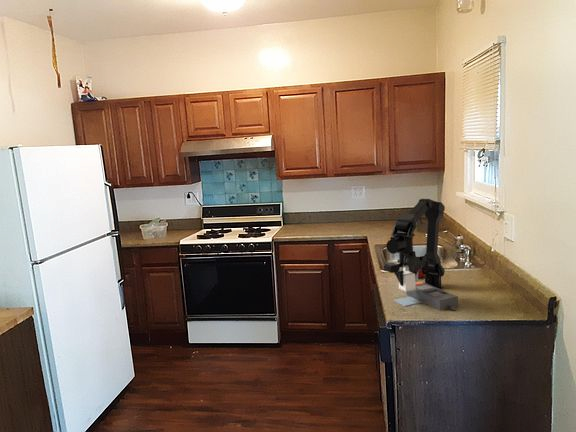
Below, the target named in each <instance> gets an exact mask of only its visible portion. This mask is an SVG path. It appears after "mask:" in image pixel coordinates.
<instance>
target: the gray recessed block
mask: <svg viewBox="0 0 576 432" xmlns="http://www.w3.org/2000/svg"><path fill="white" fill-rule="evenodd" d="M418 281H419V280H418ZM415 288H416V290H413V291H408V292H406V295H407V297H412V298H414V299H416V300H418V301H420V302H421V303H423V304H425V305H428V306H430V307H432V308H433V309H435V310H438V311H444V310H448V309H450V310H452V311H453V312H455V311H456V310H457V307H458V306H459V296H458V295H455V294H453V293H451V292H448V291H446V290H443V289H442V288H440V289H439V288H436V287H434V286H431V285H429V284H426V283H425V281H424V282H422V281H419V282H415Z"/></svg>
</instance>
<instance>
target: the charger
mask: <svg viewBox="0 0 576 432" xmlns="http://www.w3.org/2000/svg"><path fill="white" fill-rule="evenodd" d="M398 290H401V291H403V292H405V293H407V292H408V291H413V290H416V288H415V273H412V272H409V271H405V272H404V273H403V286H401V285H400V283H399V282H398Z"/></svg>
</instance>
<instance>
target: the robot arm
mask: <svg viewBox="0 0 576 432" xmlns="http://www.w3.org/2000/svg"><path fill="white" fill-rule="evenodd" d="M445 207H446V206H445V205H444V204H443V202H442V201H435V200H433V199H430V198H420V199H419V200H418V202H417V203H416V204H415V205H414V206H413V208H412V209H411V210H410V211H409V212H408V213H407V214H405V215H402V216H400V217H399V218H397V220H396V221H395V222H394V223H395V224H394V226H393V230H392V231H391V236H390V240H388V241H387V242H386V245H385V247H386V251H387V252H389V254H392V255H393V254H398V259H397V263H395V262H393V261H391V262H385V263H384V265H383V270H384V271H386V272H388V273H390V274H394V275H395V277H396V279H397V280H398V284H399V283H400V285H401V286H403V273H404V271H403V268H404V267H409V272H412V273H415V277H416V274H417V272H418V271H419V270H420V269H421V270H422V274H426V275H425V278H424V283H426V284H429V285H431V286H434V287H436V288H439V289H444V286H443V285H442V277H444V275H445V272H446V271H445V268H444V267H443V265H442V260H441V257H440V255H439V254H438V249H439V248H438V247H439V230H440V229H439V228H440V221H441V219H442V218H443V216H444V212H445V209H446V208H445ZM422 215H424V216H425V217H426V218H425V219H426V220H427V223H428V227H427V233H426V250H425V254H424V255H421V256H417V255H416V254H417V253H416V251H415V250H414V240H413V239H414V237H415V236H416V234H415V233H414V231H416V230H417V221H418V220H419V219H420V218H421V217H422ZM421 219H422V218H421Z"/></svg>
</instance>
